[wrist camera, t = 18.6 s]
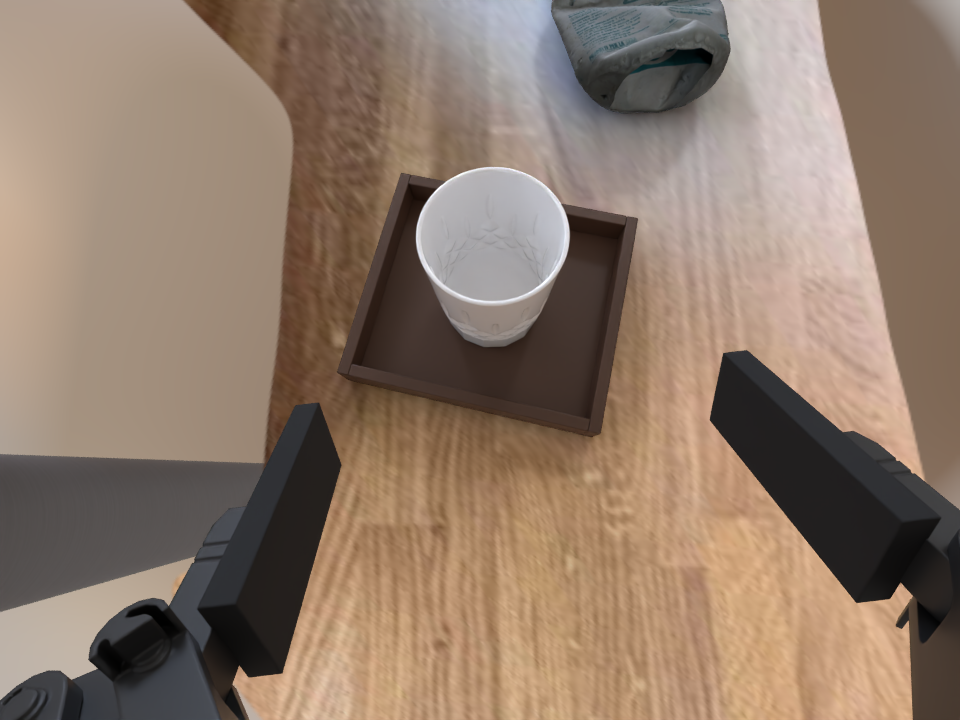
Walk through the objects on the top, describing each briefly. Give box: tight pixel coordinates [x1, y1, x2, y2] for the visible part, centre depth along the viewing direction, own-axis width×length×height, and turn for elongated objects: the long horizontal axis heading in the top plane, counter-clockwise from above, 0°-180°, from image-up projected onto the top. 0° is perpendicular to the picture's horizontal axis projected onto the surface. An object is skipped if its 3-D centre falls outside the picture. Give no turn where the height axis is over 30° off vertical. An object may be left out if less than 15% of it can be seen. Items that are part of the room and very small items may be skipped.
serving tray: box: [337, 173, 638, 437], centre depth 32 cm, size 18×16×2 cm
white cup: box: [416, 167, 570, 347], centre depth 28 cm, size 8×8×10 cm
